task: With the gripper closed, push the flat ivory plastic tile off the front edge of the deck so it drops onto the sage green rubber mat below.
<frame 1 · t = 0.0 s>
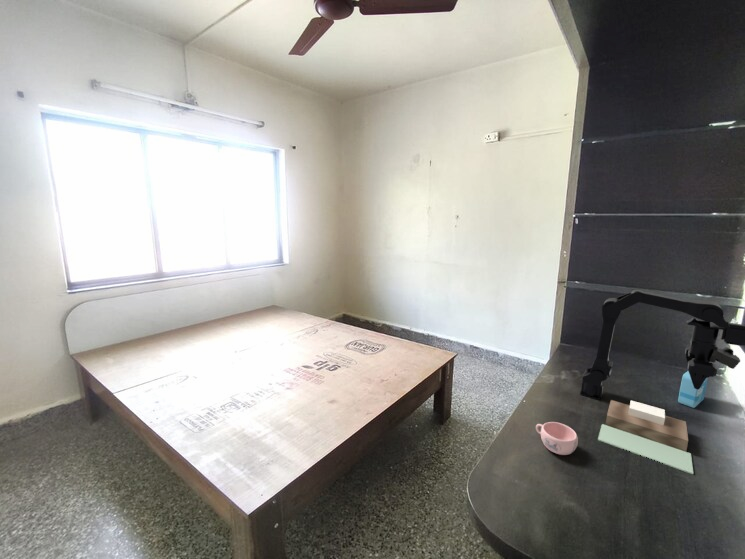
hand: (695, 383, 109), 15 cm above the table, tool pointing down, fingers open, 9 cm apart
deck: (643, 429, 109), on the table
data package: (690, 401, 125), on the table
mat: (642, 447, 101), on the table
mug: (554, 446, 102), on the table
tile: (645, 415, 110), point 4 cm above the table, touching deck
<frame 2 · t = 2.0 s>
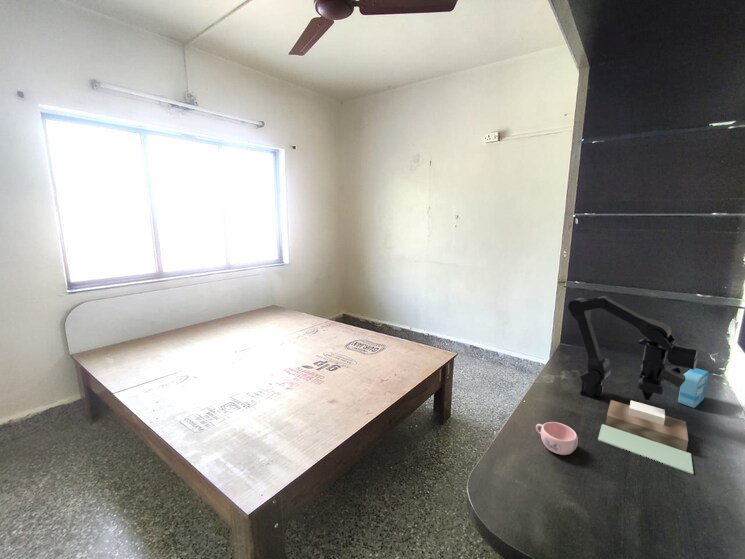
hand: (647, 399, 116), 6 cm above the table, tool pointing down, fingers closed
nothing on the table moved.
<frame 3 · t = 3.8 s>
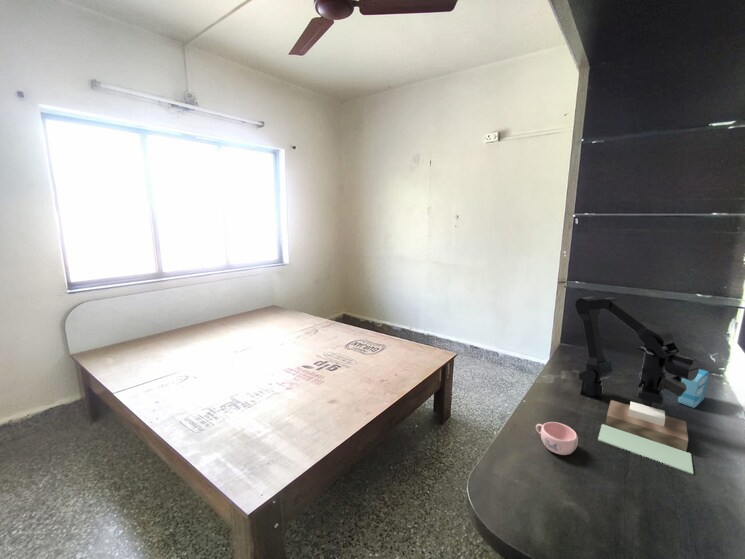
hand: (646, 408, 112), 5 cm above the table, tool pointing down, fingers closed
tile: (645, 416, 109), point 4 cm above the table, touching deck, gripper
everything else where it was.
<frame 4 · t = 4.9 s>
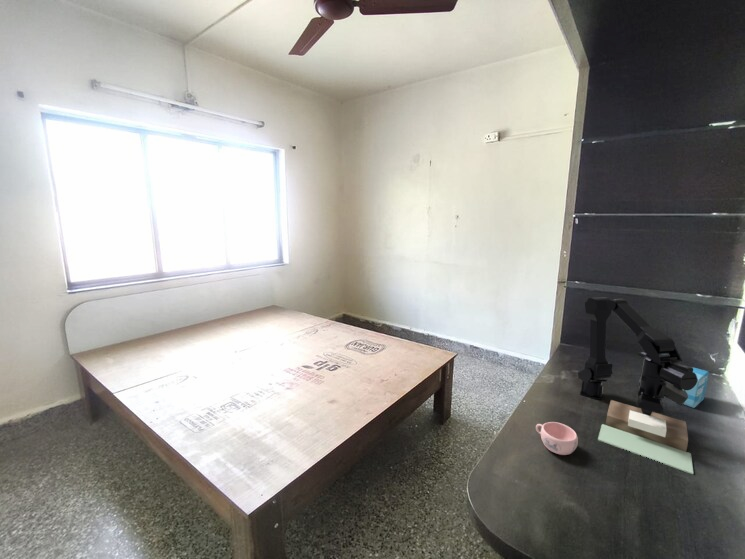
hand: (646, 417, 107), 5 cm above the table, tool pointing down, fingers closed
tile: (646, 426, 104), point 4 cm above the table, touching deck
everything else where it was.
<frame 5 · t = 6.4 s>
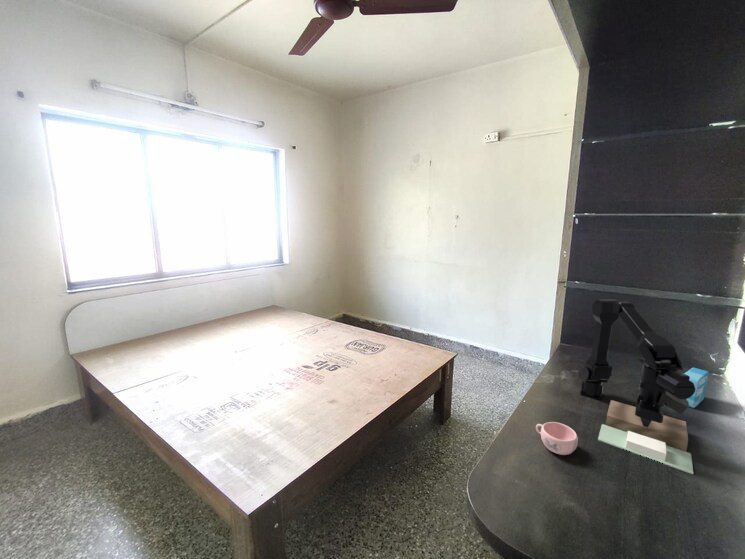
hand: (645, 426, 103), 5 cm above the table, tool pointing down, fingers closed
tile: (646, 441, 99), point 3 cm above the table, tilted 180°, touching mat
everything else where it was.
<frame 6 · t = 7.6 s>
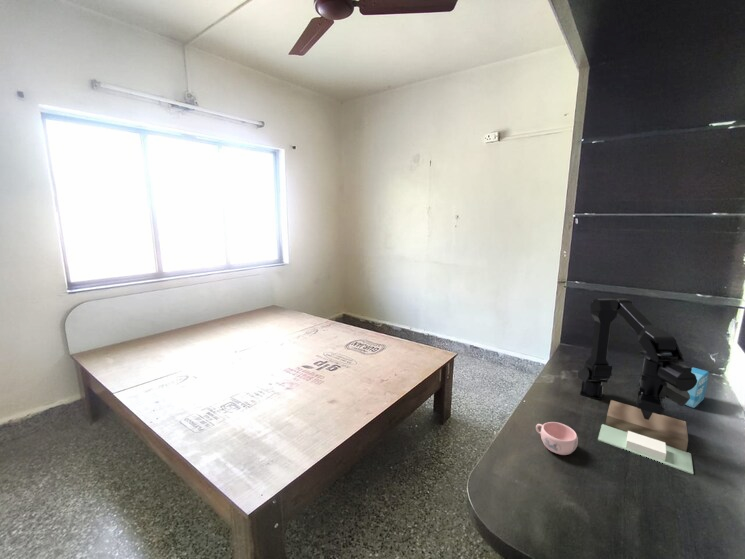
hand: (646, 418, 103), 7 cm above the table, tool pointing down, fingers closed
nothing on the table moved.
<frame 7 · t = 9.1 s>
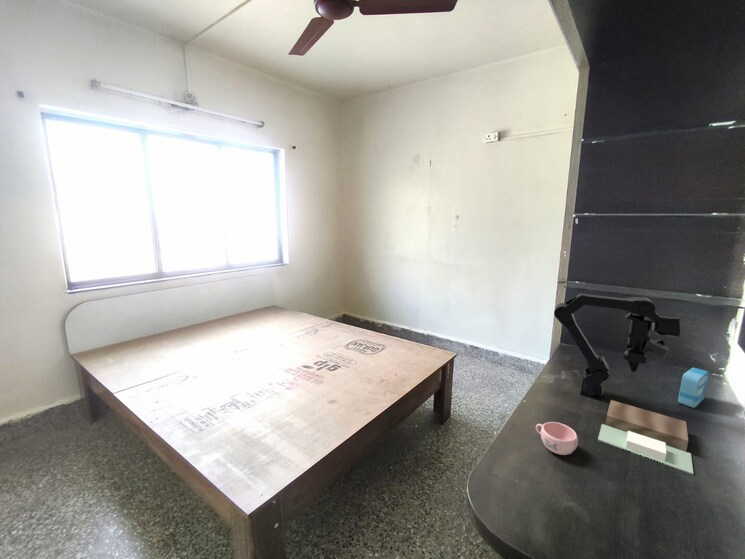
hand: (633, 371, 122), 13 cm above the table, tool pointing down, fingers closed
nothing on the table moved.
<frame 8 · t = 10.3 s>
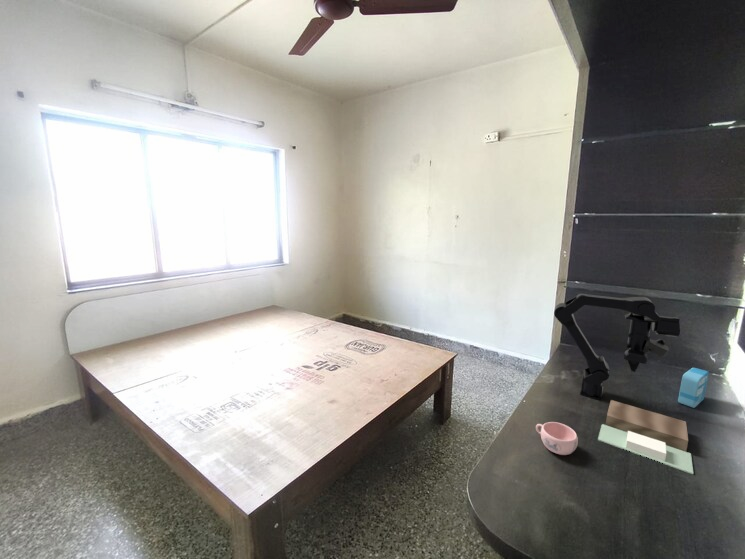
hand: (633, 371, 122), 13 cm above the table, tool pointing down, fingers closed
nothing on the table moved.
at the end: tile inside the target area (1.3 cm from its centre), point 2.9 cm above the table; tile touching mat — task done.
